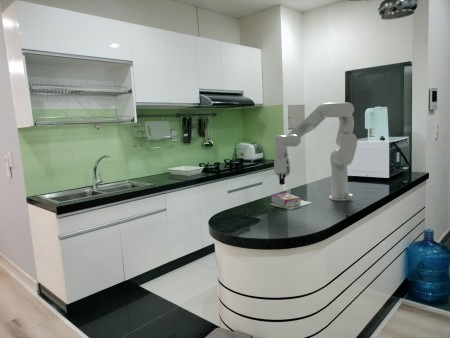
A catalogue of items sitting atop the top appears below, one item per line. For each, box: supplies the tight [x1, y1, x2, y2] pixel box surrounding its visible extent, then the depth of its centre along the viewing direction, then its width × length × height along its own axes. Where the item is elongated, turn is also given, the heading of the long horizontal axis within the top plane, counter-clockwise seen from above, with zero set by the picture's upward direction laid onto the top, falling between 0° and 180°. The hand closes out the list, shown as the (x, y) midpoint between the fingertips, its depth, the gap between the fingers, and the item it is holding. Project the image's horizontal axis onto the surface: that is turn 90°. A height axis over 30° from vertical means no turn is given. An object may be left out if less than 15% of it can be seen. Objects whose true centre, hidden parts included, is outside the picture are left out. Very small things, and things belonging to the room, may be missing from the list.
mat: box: [269, 200, 313, 210], centre depth 209 cm, size 17×20×1 cm
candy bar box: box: [271, 192, 302, 207], centre depth 208 cm, size 11×5×16 cm
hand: (282, 184), depth 213 cm, fingers closed
